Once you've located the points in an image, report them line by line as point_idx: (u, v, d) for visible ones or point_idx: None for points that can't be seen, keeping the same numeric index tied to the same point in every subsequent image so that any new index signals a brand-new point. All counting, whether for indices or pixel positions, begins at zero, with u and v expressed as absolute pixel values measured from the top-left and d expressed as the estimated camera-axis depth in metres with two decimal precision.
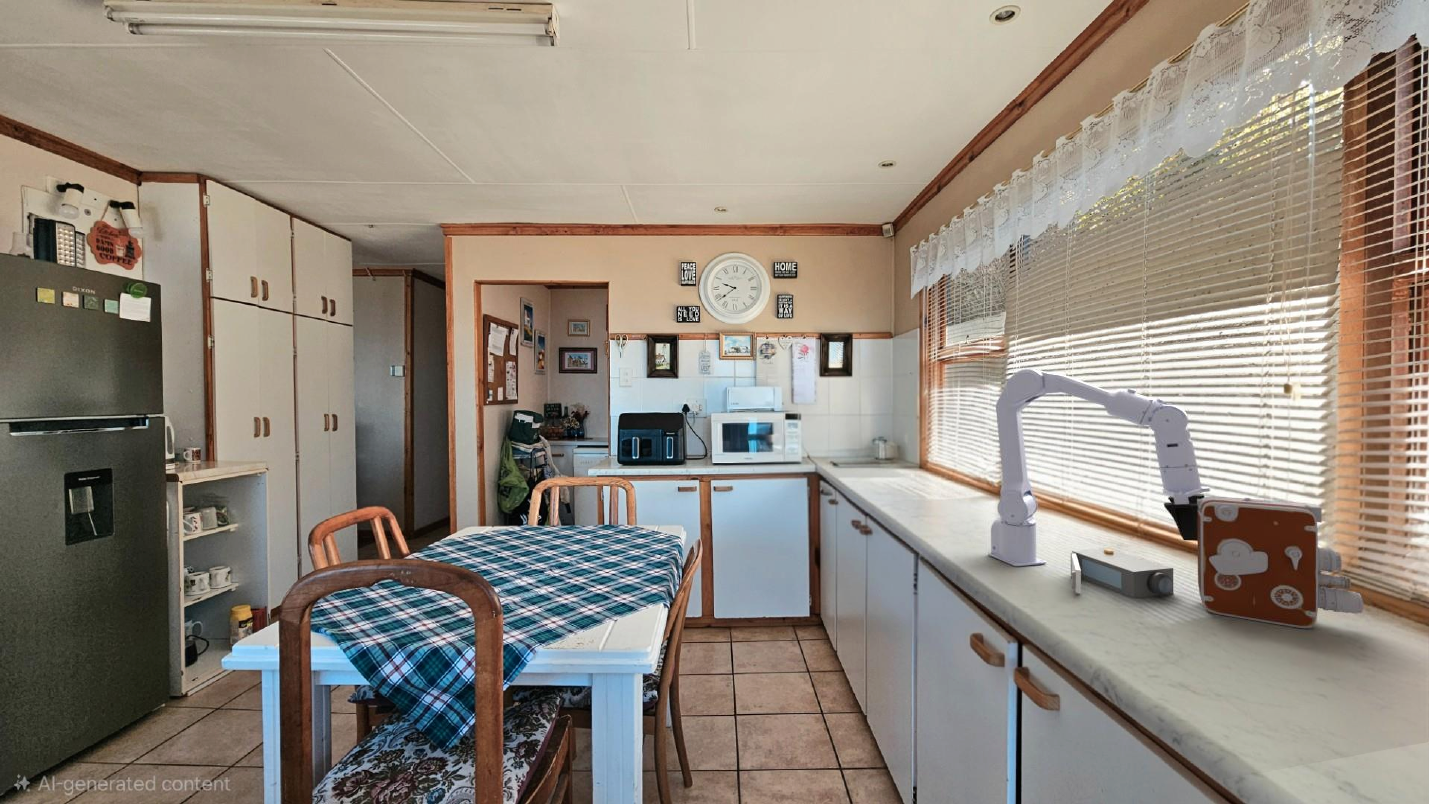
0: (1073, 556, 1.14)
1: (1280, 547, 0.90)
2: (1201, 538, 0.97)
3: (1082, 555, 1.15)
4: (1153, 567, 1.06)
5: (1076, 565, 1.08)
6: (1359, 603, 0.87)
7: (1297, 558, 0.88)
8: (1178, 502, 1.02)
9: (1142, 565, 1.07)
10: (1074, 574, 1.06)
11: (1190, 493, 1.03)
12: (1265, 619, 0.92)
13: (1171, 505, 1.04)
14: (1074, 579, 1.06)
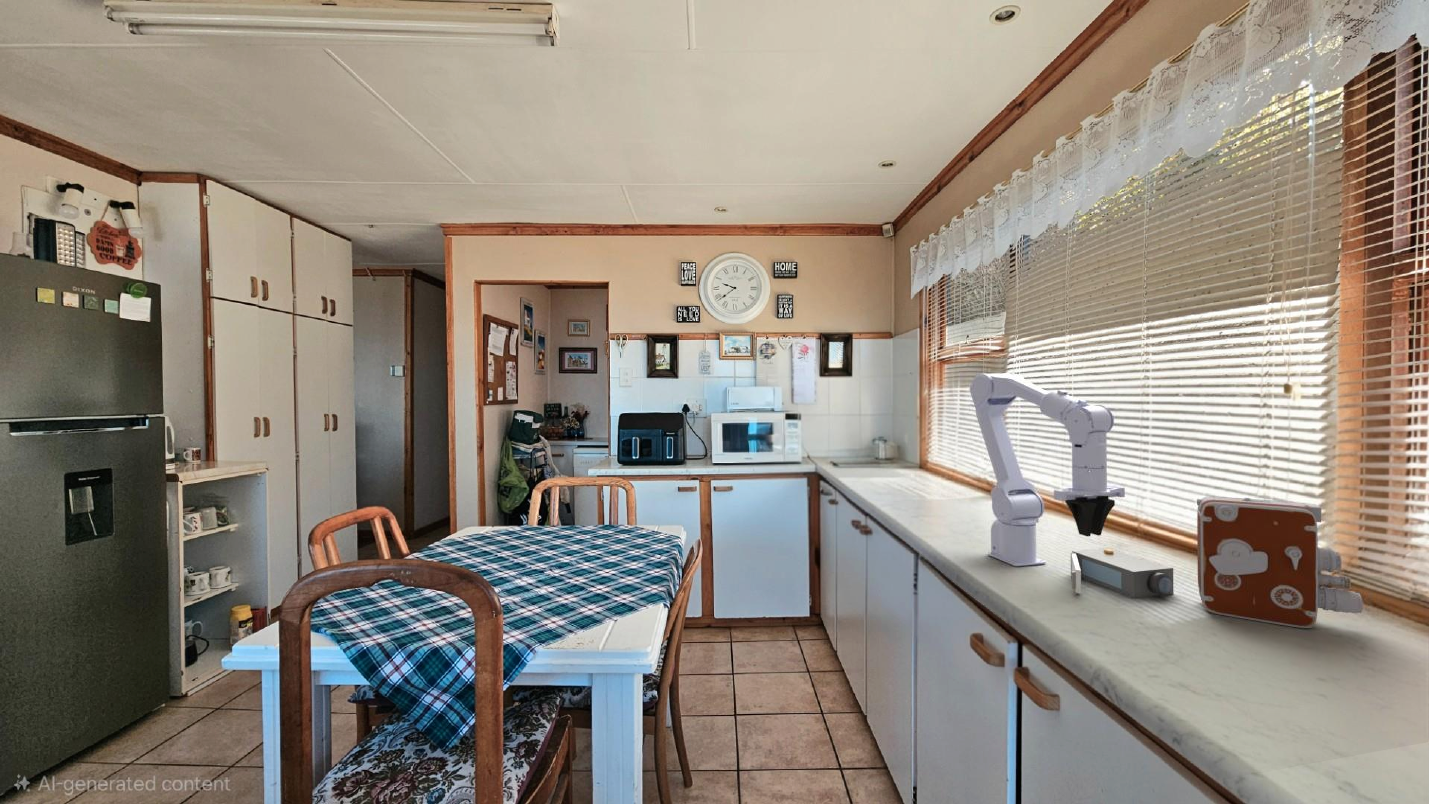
0: (1073, 556, 1.14)
1: (1280, 547, 0.90)
2: (1201, 538, 0.97)
3: (1082, 555, 1.15)
4: (1153, 567, 1.06)
5: (1076, 565, 1.08)
6: (1358, 603, 0.87)
7: (1297, 558, 0.88)
8: (1055, 498, 1.09)
9: (1142, 565, 1.07)
10: (1074, 574, 1.06)
11: (1073, 492, 1.07)
12: (1265, 619, 0.92)
13: (1067, 499, 1.11)
14: (1074, 579, 1.06)
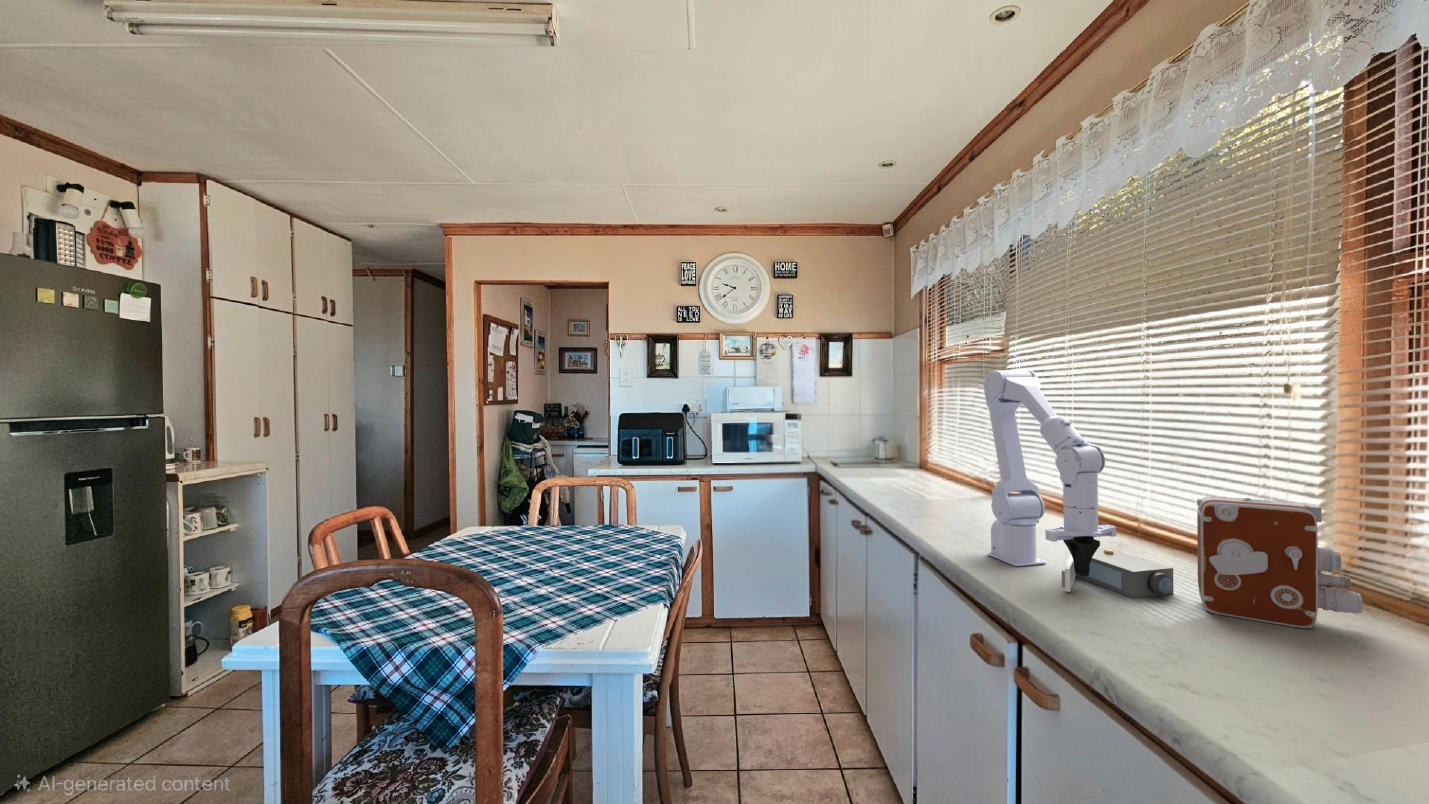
0: (1071, 556, 1.14)
1: (1280, 547, 0.90)
2: (1201, 538, 0.97)
3: None
4: (1153, 567, 1.06)
5: (1068, 564, 1.09)
6: (1358, 603, 0.87)
7: (1297, 558, 0.88)
8: (1047, 538, 1.09)
9: (1142, 565, 1.07)
10: (1064, 572, 1.07)
11: (1064, 533, 1.07)
12: (1265, 619, 0.92)
13: None
14: (1064, 577, 1.07)
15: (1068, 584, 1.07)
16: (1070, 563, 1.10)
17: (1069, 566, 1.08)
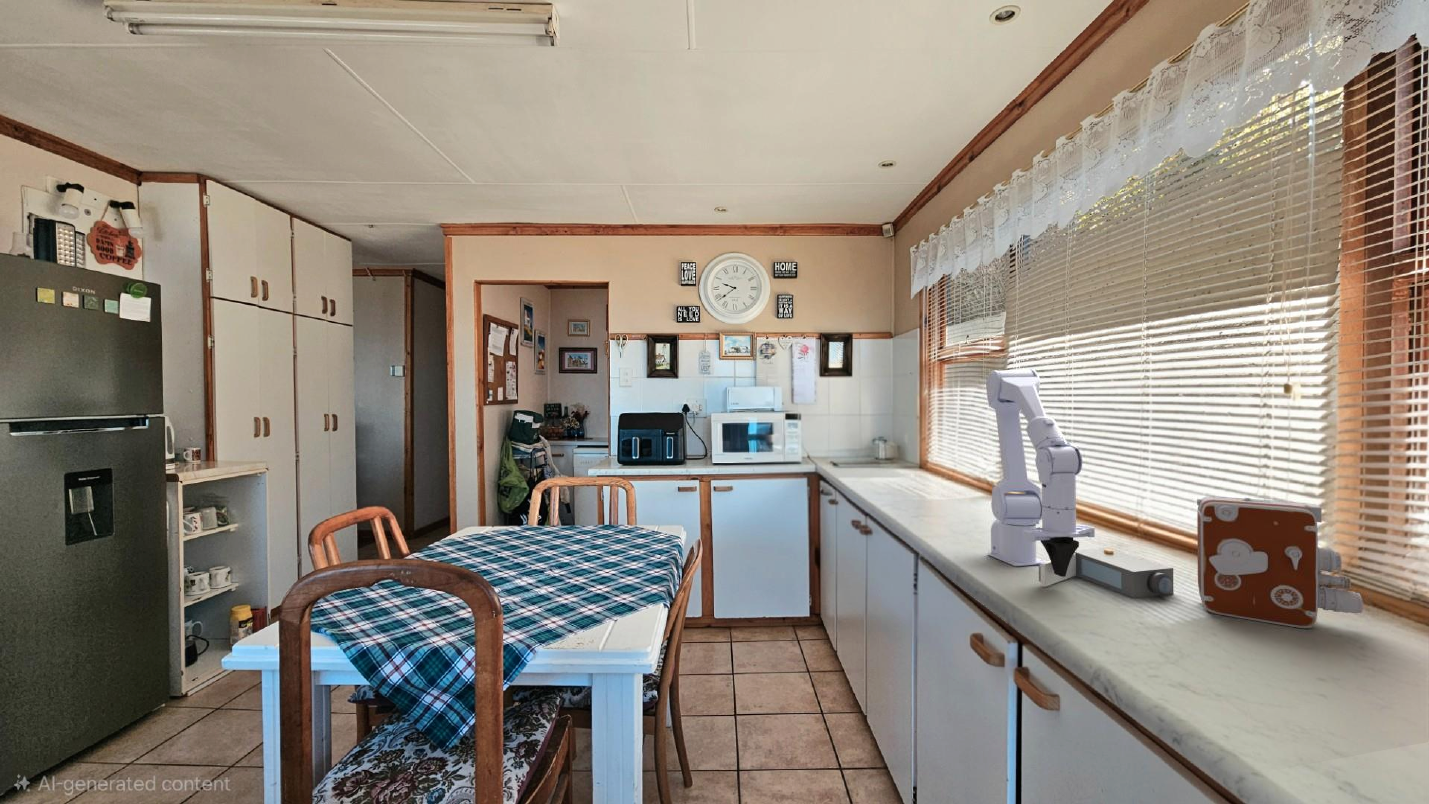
0: None
1: (1280, 547, 0.90)
2: (1201, 538, 0.97)
3: (1082, 555, 1.15)
4: (1153, 567, 1.06)
5: None
6: (1358, 603, 0.87)
7: (1297, 558, 0.88)
8: (1025, 538, 1.08)
9: (1142, 565, 1.07)
10: (1040, 567, 1.11)
11: (1042, 533, 1.07)
12: (1265, 619, 0.92)
13: None
14: (1040, 572, 1.11)
15: (1043, 579, 1.10)
16: None
17: (1048, 562, 1.11)
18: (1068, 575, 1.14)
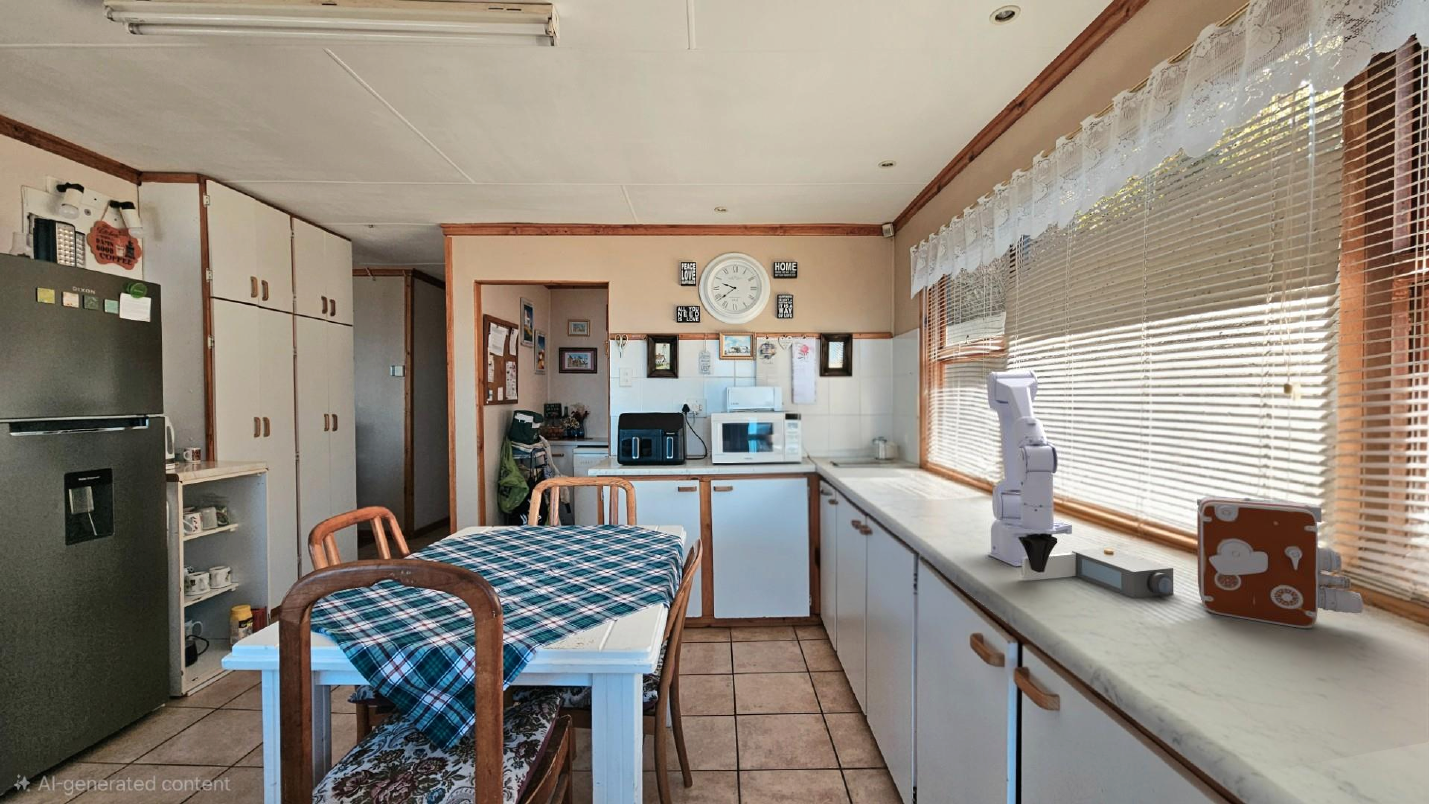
0: (1063, 554, 1.16)
1: (1280, 547, 0.90)
2: (1201, 538, 0.97)
3: (1082, 555, 1.15)
4: (1153, 567, 1.06)
5: None
6: (1358, 603, 0.87)
7: (1297, 558, 0.88)
8: (1004, 535, 1.11)
9: (1142, 565, 1.07)
10: None
11: (1020, 530, 1.10)
12: (1265, 619, 0.92)
13: None
14: None
15: (1024, 572, 1.14)
16: None
17: None
18: (1062, 574, 1.15)
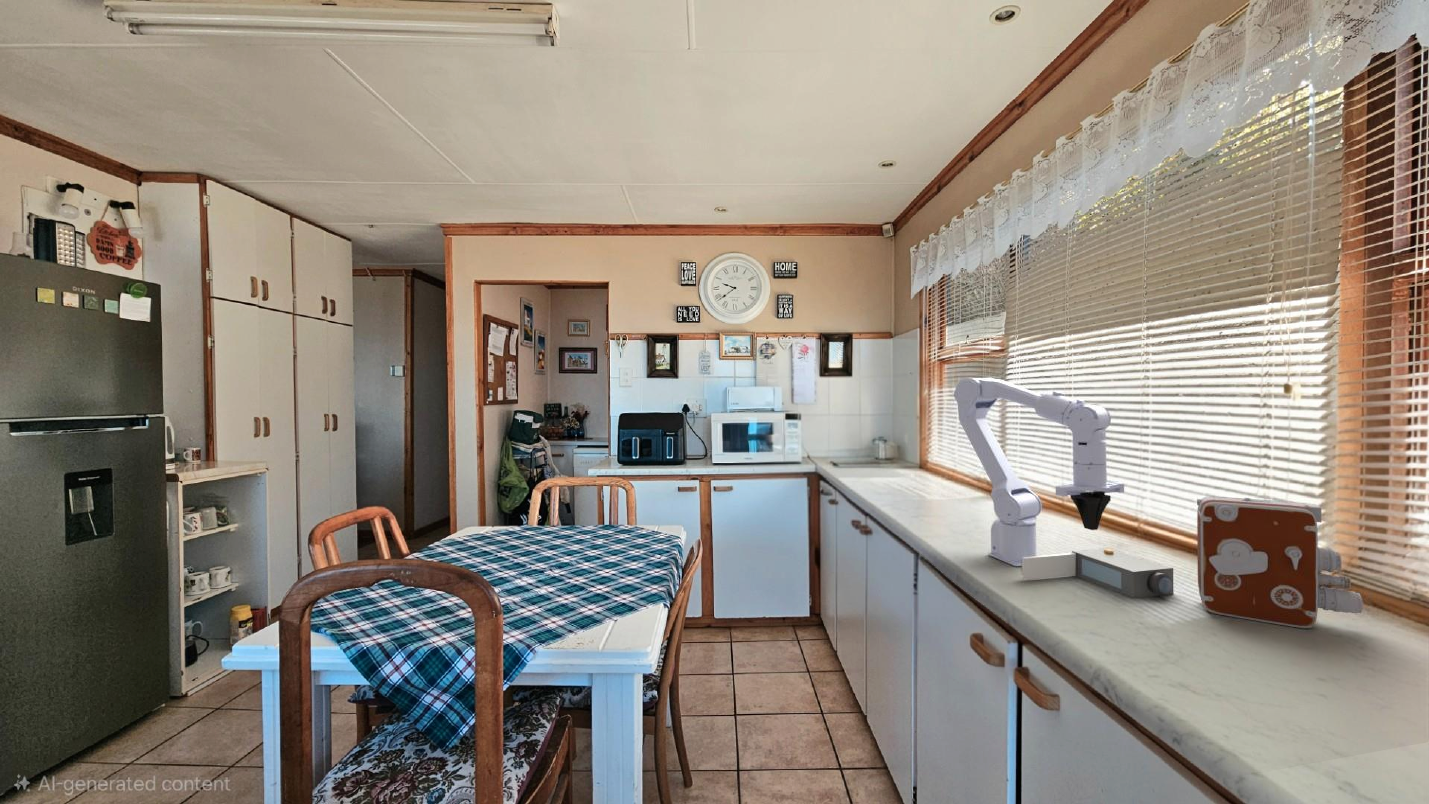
0: (1063, 554, 1.16)
1: (1280, 547, 0.90)
2: (1201, 538, 0.97)
3: (1082, 555, 1.15)
4: (1153, 567, 1.06)
5: (1035, 556, 1.15)
6: (1358, 603, 0.87)
7: (1297, 558, 0.88)
8: (1057, 493, 1.13)
9: (1142, 565, 1.07)
10: None
11: (1074, 488, 1.12)
12: (1265, 619, 0.92)
13: (1072, 494, 1.15)
14: None
15: (1024, 572, 1.14)
16: (1040, 556, 1.15)
17: (1031, 557, 1.14)
18: (1062, 574, 1.15)
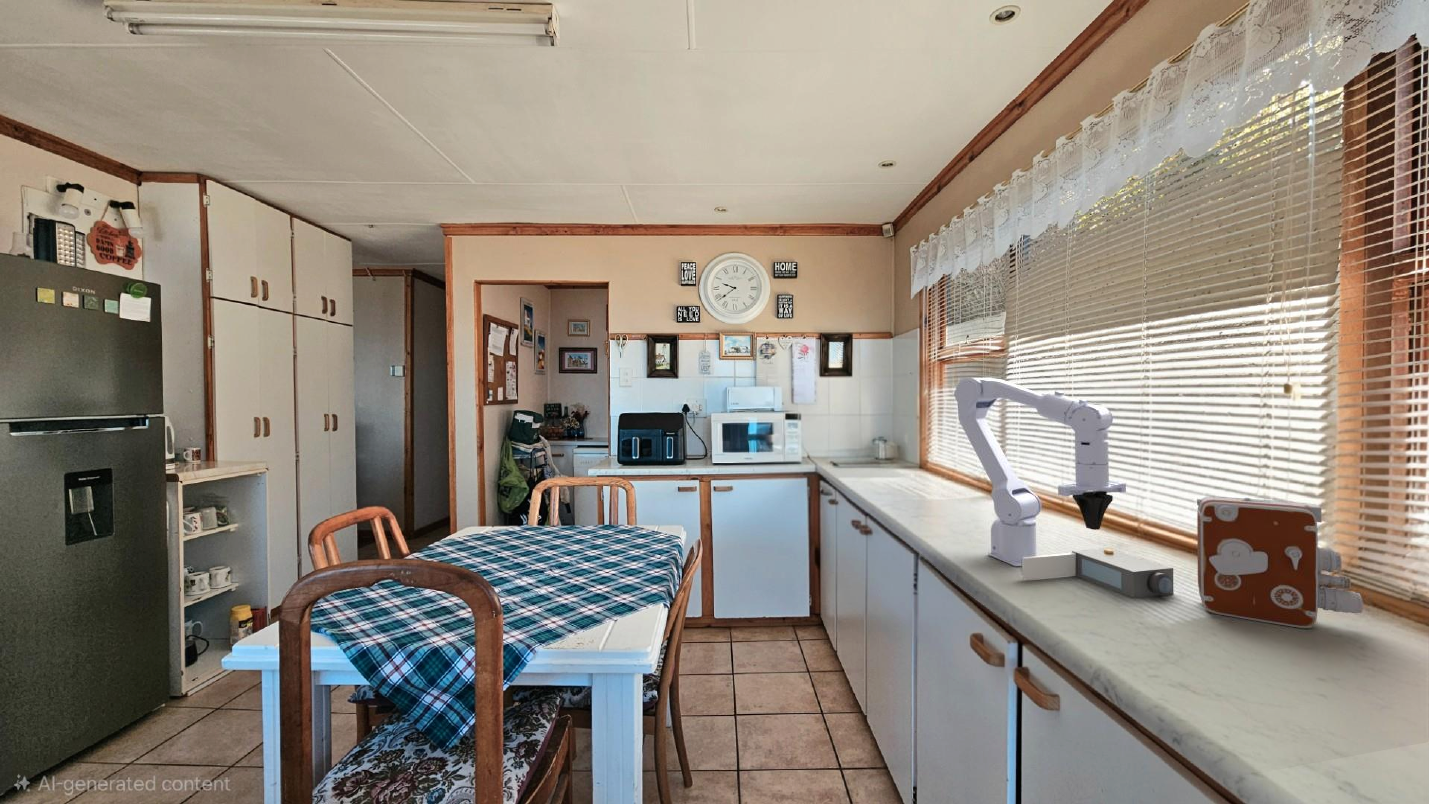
0: (1063, 554, 1.16)
1: (1280, 547, 0.90)
2: (1201, 538, 0.97)
3: (1082, 555, 1.15)
4: (1153, 567, 1.06)
5: (1035, 556, 1.15)
6: (1358, 603, 0.87)
7: (1297, 558, 0.88)
8: (1060, 493, 1.14)
9: (1142, 565, 1.07)
10: None
11: (1076, 488, 1.12)
12: (1265, 619, 0.92)
13: (1074, 494, 1.16)
14: None
15: (1024, 572, 1.14)
16: (1040, 556, 1.15)
17: (1031, 557, 1.14)
18: (1062, 574, 1.15)
